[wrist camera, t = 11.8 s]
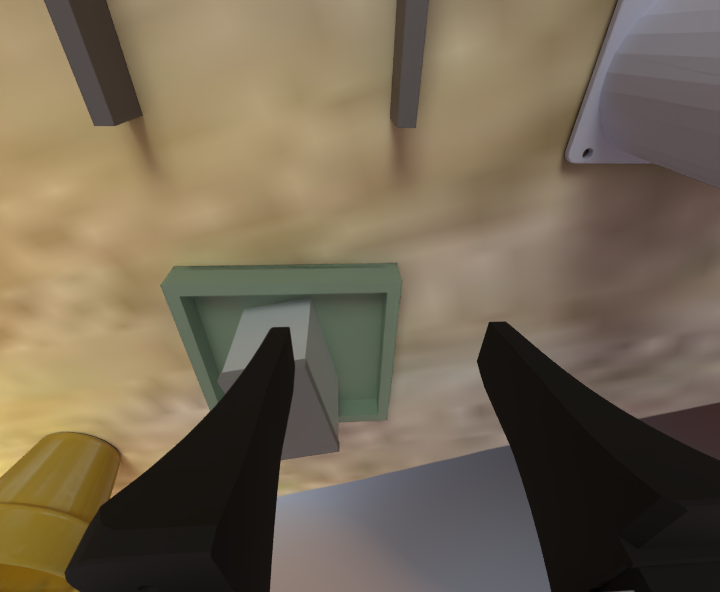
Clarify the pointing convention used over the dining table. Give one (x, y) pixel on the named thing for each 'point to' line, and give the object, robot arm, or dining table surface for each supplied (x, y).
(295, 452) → the grey upright block
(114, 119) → the frame
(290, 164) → the dining table surface
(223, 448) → the robot arm
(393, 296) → the tray
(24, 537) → the plant pot
